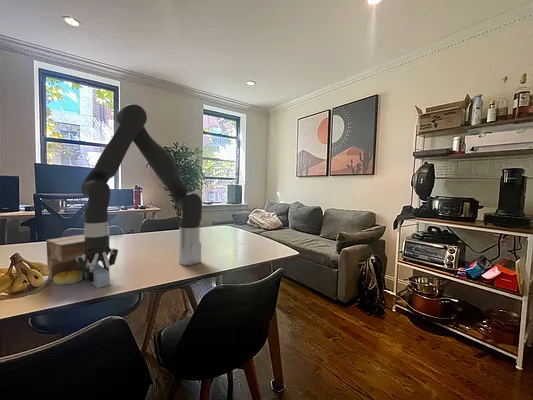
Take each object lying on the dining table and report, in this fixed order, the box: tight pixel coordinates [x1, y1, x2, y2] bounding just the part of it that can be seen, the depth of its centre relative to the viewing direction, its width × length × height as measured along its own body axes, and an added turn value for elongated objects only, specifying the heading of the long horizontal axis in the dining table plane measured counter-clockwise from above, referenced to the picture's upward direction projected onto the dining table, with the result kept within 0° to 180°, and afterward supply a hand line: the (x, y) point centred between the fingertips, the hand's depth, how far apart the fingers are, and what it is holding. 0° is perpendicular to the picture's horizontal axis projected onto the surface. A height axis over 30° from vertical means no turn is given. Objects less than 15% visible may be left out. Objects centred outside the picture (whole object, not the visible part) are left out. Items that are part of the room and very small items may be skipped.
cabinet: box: [45, 234, 111, 282], centre depth 99 cm, size 13×16×15 cm
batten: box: [83, 261, 111, 289], centre depth 95 cm, size 19×4×5 cm, turn 51°
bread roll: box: [52, 270, 85, 286], centre depth 94 cm, size 8×9×4 cm
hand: (98, 279), depth 93 cm, fingers closed on batten, 4 cm apart
